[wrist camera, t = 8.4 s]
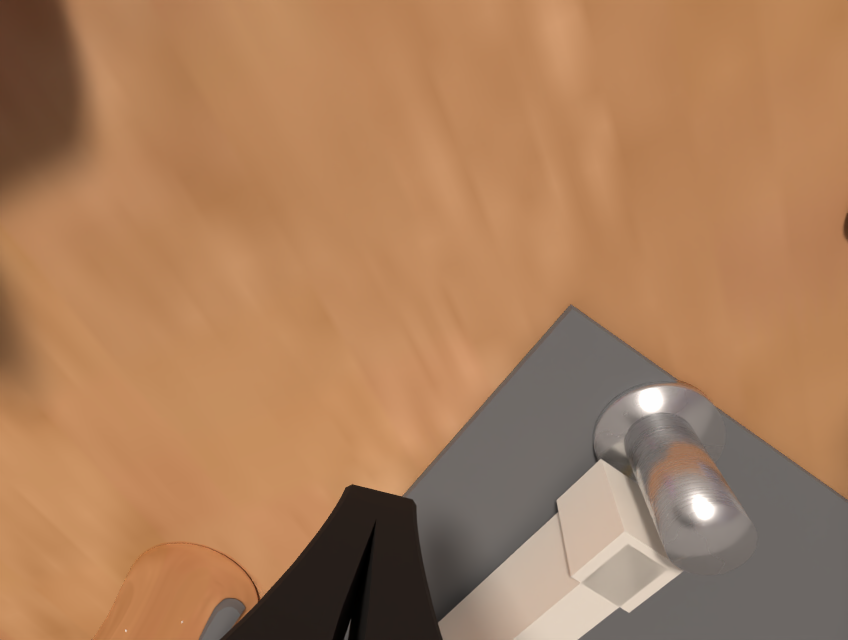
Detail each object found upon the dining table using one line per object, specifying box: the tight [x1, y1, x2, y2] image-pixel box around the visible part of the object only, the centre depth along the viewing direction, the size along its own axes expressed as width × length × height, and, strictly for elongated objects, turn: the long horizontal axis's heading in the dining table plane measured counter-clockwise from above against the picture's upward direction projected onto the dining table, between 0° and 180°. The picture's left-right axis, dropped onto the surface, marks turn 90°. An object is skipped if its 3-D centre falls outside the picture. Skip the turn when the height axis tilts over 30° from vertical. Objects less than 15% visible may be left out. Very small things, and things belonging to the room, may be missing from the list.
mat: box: [344, 305, 848, 640], centre depth 24 cm, size 19×21×1 cm
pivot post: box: [593, 380, 757, 575], centre depth 18 cm, size 4×4×6 cm
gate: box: [438, 459, 683, 640], centre depth 20 cm, size 13×2×4 cm, turn 145°
